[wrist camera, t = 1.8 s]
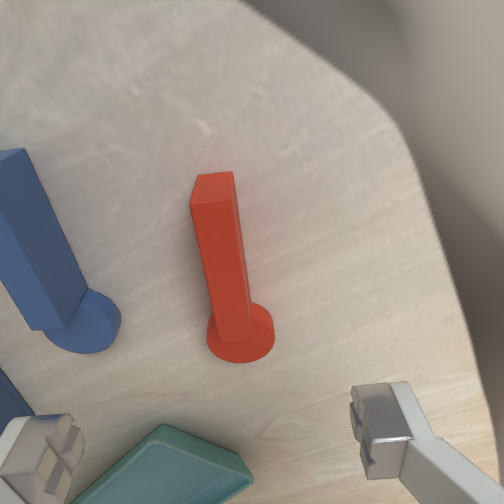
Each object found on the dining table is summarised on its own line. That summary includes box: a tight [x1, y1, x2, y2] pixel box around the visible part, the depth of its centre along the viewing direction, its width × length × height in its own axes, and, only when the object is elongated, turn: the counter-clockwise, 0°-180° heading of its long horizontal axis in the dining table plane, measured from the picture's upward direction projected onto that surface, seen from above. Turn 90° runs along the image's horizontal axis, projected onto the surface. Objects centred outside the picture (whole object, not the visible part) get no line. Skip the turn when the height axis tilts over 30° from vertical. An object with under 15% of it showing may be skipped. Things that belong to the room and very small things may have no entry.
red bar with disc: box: [189, 172, 275, 363], centre depth 17 cm, size 11×4×3 cm, turn 6°
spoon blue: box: [0, 148, 121, 354], centre depth 17 cm, size 11×4×3 cm, turn 6°
